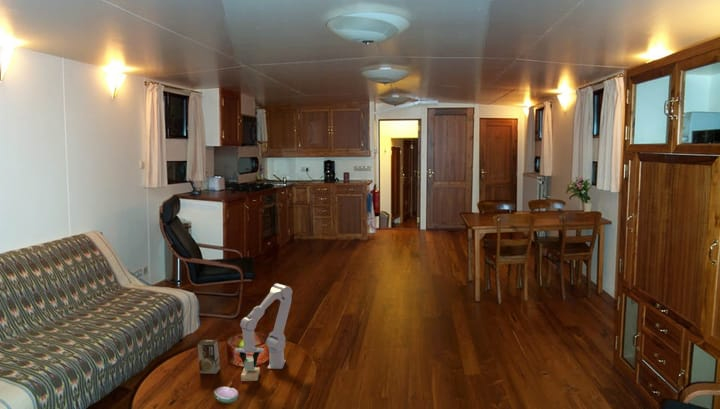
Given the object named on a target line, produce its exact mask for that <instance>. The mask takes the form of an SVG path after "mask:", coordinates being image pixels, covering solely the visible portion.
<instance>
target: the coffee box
mask: <svg viewBox="0 0 720 409" xmlns="http://www.w3.org/2000/svg"><path fill="white" fill-rule="evenodd" d="M197 351H198V363H199V364H198V367H199V373H200V374H214V375H215V374H217V373H218V372H219V371H220V369H221V365H220V364H221V362H220V359H221V358H220V347H219V339H201V340H200V341H199V343H197Z"/></svg>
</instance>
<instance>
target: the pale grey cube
mask: <svg viewBox="0 0 720 409" xmlns="http://www.w3.org/2000/svg"><path fill="white" fill-rule="evenodd" d="M244 368H245V371H254V369H255V367H254V360H253V357H247V356H246V359H245V361H244V364H243V369H244Z"/></svg>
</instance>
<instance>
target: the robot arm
mask: <svg viewBox="0 0 720 409" xmlns="http://www.w3.org/2000/svg"><path fill="white" fill-rule="evenodd" d="M293 292H294V291H293V289H292V288H291V286H289V285H284V284H280V283H278V282H276V283H274V284H273V285H272V286H271V288H270V290H269V293H268V294H267V295H266V297H265V298H264V299H263V300H262V302H261V303H260V305H256V306H255V307H253V309H252V310H251V311H250V313H248V315H247V316H245V317H243V318H242V319H241V320H240V323H239V327H240V328H241V330H242V343H243V344H242V345H243V347H235V349H234V354H239V355H238V357H239V358H240V360H241V361H242V364H243V365H244V361H245V359H246V358H247V355H248V354H253V355H252V358H253V360H254V367H257V362H258V360H259V359H258V358H259V355H260V354H262V355H263V354H264V353H265V348H262V347H256V341H255V340H256V339H255V338H256V337H255V329H256V327H257V324H258V322H259V320H260V319H261V318H263V316H264V314H265V312H266V310H267V308H268V307H269V306H271V304H272V303H274V301H275V300H278V301H279V302H280V304H279V307H278V312H277V315H276V318H275V323H274V328H273V330H272V331H271V332H269V334H268V337H267V338H266V339H265V340H266V341H265V345H266V347H267V349H268V353H269V354H268V357H269V358H268V359H269V364H268V366H267V369H268V370H269V369H272V370H273V369H274V370H275V369H277V370H279V369H280V370H281V369H283V368H284V366H285V363H286V362H287V361H286V359H285V358H284V357H285V351H284V350H285V348H286V335H285V333H284V332H285V327H286V324H287V320H288V316H289V312H290V309H291V305H292V300H293V299H292V296H293Z"/></svg>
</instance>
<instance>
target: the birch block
mask: <svg viewBox="0 0 720 409" xmlns="http://www.w3.org/2000/svg"><path fill="white" fill-rule="evenodd" d="M260 369H261V368H260V367H257V366H256V367H255V369H254V371H245V368H244V367H243V370H242V371H241V374H240V381H241V382H253V381H255V382H256V381H258V380H259V378H260V377H259V376H260V374H261V373H260V371H261V370H260Z"/></svg>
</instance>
